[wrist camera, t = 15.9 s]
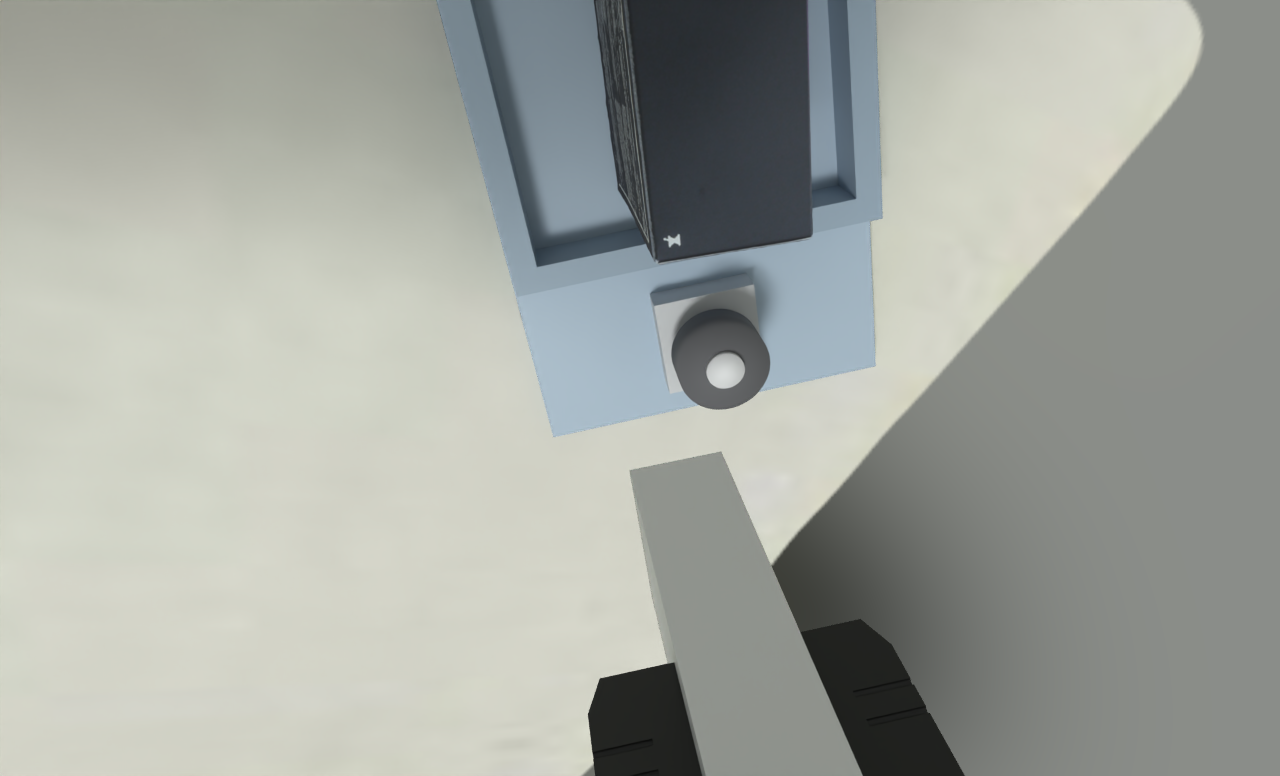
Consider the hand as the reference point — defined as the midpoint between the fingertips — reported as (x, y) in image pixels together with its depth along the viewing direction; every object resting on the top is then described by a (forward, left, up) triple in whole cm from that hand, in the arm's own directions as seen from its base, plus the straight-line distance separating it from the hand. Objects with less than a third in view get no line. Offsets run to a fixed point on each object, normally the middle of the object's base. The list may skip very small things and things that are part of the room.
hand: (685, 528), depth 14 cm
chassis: (+5, -2, -29) cm, 29 cm away
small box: (+5, +3, -28) cm, 29 cm away
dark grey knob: (+5, -10, -27) cm, 29 cm away
